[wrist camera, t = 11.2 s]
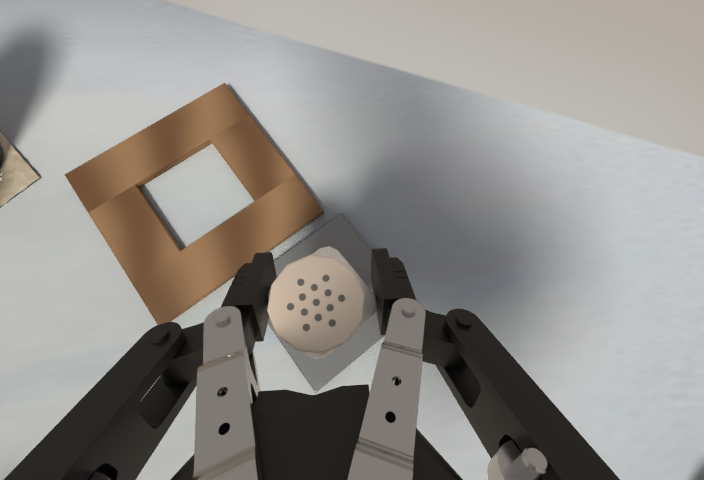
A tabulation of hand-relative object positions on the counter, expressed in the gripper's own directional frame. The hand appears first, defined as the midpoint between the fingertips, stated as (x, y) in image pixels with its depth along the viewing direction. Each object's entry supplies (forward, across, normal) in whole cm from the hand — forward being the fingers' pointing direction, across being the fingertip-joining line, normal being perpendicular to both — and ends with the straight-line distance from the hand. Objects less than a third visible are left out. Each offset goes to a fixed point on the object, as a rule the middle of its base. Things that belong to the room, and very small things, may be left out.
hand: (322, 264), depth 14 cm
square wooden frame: (+9, +10, 0) cm, 14 cm away
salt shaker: (+2, 0, +5) cm, 5 cm away
